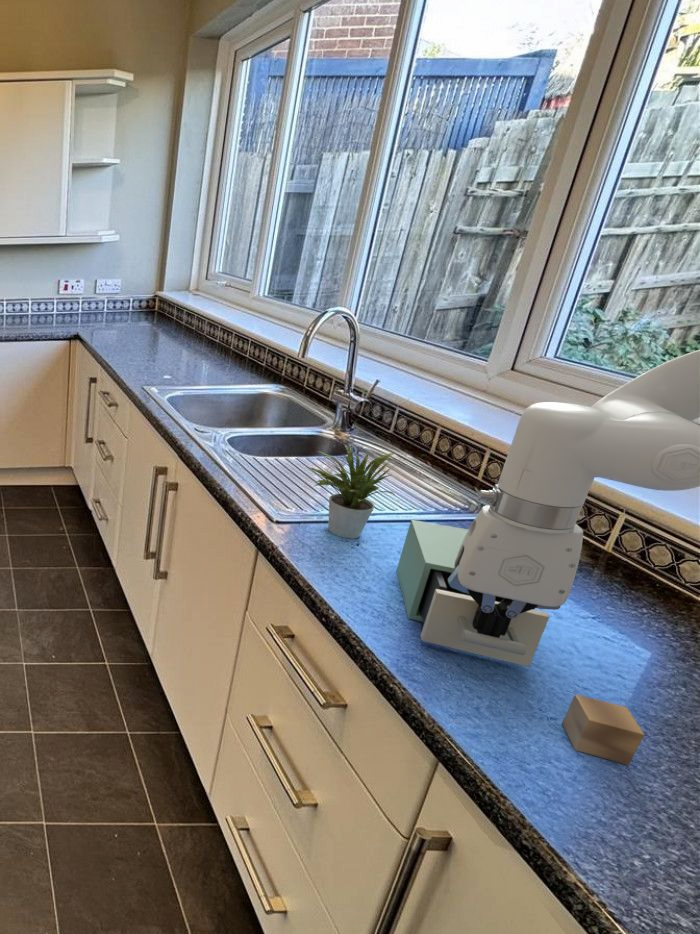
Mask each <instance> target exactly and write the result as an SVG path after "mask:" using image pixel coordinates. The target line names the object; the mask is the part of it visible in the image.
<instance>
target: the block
mask: <svg viewBox="0 0 700 934" xmlns="http://www.w3.org/2000/svg"><path fill="white" fill-rule="evenodd" d="M569 704H570V705H569V707H568V709H567V711H566V713H565V715H564V717H563V720H562V722H561V725H562V726H563V729H564V731H565V733H566V734H567V737H568V739H569V741H570V743H571V745H572V747H573V749H574V750H575V751H577V752H581V753H584V754H586V755H591V756H594V757H598V758H601V759H604V760H608V761H612V762H616V763H619V764H622V765H626V766H630V764H631V762H632V760H633V758H634V756H635V754H636V752H637V751H638V748H639V746H640V744H641V743H642V741H643V739H644V737H645V733H644V732H643V729H642V728H641V727H640V725H639V724H638V722H637V720H636V719H635V717H634V716H633V714H632V713H631V711H630V710H629V708H628V707H627V706H624V705H619V704H615V703H612V702H608V701H604V700H599V699H597V698H592V697H588V696H584V695H580V694H577V693H576V694H574V695H573V698H572V699H571V702H570V703H569Z"/></svg>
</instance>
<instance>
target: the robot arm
mask: <svg viewBox="0 0 700 934" xmlns="http://www.w3.org/2000/svg"><path fill="white" fill-rule="evenodd" d="M699 418H700V349H697V350H694V351H691V352H688V353H685V354H683V355H680V356H677V357H674V358H673V359H670V360H667V361H665V362H663V363H660V364H659V365H656V366H654V367H653V368H651V369H649V370H647V371H645V372H643V373H642V374H640V375H638V376H636V377H634V378H633V379H631V380H629V381H628V382H626V383H625V384H622V385H621V386H619V387H618V388H616V389H614V390H613V391H611V392H609V393H608V394H605V396H603V397H602V398H600V399H599V400H598V401H596V402H595V403H593V405H591V406H586V405H582V404H576V403H569V402H562V401H561V402H559V401H543V402H535V403H532V404H531V405H529V406H528V407H526V408H525V409H524V410H523V412H522V414H521V415H520V418H519V420H518V424H517V426H516V430H515V433H514V435H513V438H512V441H511V444H510V447H509V449H508V453H507V456H506V459H505V462H504V464H503V467H502V469H501V473H500V476H499V479H498V482H497V483H495V484H494V487H492V489H488V490H485V489H484V490H483V489H479V491H478V492H477V501H478V502H479V501H480V502H485V504H487V505H484V506H483V507H481V509H480V510H479V511H478V513H477V515H476V516H475V518H474V520H473V521H472V523H471V525H470V526H469V528H468V532H467V534H466V536H465V538H464V540H463V542H462V544H461V547H460V549H459V551H458V554H457V557H456V560H455V564H454V568H455V570H454V571H453V573H452V574H451V575H450V577H449V578H448V582H449V585H450V587H452V588H454V589H456V590H459V591H461V592H464V593H467V594H470V596H471V597H472V598H473V599H474V600H475V602H476V603H477V604H478V608H477V611H476V614H475V616H474V619H473V628H474V629H477V632H478V633H480V634H484V635H488V636H493V637H497V638H499V637H500V635H503V636H505V634H506V632H507V629H508V627H509V624H510V621H511V619H512V618H516V617H518V615H519V614H520V613H523V612H526V611H529V610H532V609H534V610H536V609H537V610H551V611H552V610H553V611H555V610H556V611H557V610H559V609H560V608H561V606H564V604H566V602H567V601H568V598H569V596H570V593H571V592H572V588H573V585H574V581H575V579H576V574H577V571H578V567H579V563H580V560H581V559H580V558H581V553H582V549H583V540H584V529H582V527H581V526H579V524H577V521H578V519H579V516H580V514H581V511H582V509H583V507H584V504H585V502H586V500H587V497H588V494H589V493H590V490H591V487H592V485H593V482H594V480H595V478H600V479H605V480H610V481H614V482H618V483H622V484H626V485H629V486H633V487H638V488H643V489H649V490H655V491H666V492H667V491H669V492H674V491H676V492H677V491H686V490H691V489H692V490H693V489H696V488H699V487H700V425H699V424H697V423H694V422H693V421H695V420H696V419H699ZM496 596H498V597H503V598H502V599H501V601H500V603H498V604H495V598H496ZM494 605H495V606H494Z"/></svg>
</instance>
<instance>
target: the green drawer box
mask: <svg viewBox="0 0 700 934" xmlns="http://www.w3.org/2000/svg"><path fill="white" fill-rule="evenodd" d="M468 530H469V528H462V527H457V526H452V525H451V526H450V525H445V524H438V523H433V522H427V521H422V520H416V519H410V523H409V525H408V528H407V532H406V536H405V539H404V540H405V541H404V543H403V547H402V550H401V553H400V557H399V560H398V563H397V568H396V573H397V578H398V582H399V586H400V587H399V588H400V590H401V595H402V599H403V604H404V607H405V611H406V615H407V618H408V619H409V620H413V621H416V622H422V623H424V622H423V619H422V615H421V612H420V608H419V605H420V601H421V598H422V595H423V592H424V589H425V586H426V582H427V579H428V576H429V573H430V570H431V569H435V570H440V571H445V572H450V573H453V571H454V570H455V568H454V564H455V560H456V557H457V554H458V551H459V549H460V547H461V544H462V542H463V540H464V538H465V536H466V534H467V532H468Z"/></svg>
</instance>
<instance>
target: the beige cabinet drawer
mask: <svg viewBox="0 0 700 934" xmlns="http://www.w3.org/2000/svg"><path fill="white" fill-rule="evenodd" d="M451 574H452V573H450V572H445V571H440V570H435V569H431V570H430V573H429V576H428V579H427V582H426V586H425V589H424V592H423V595H422V598H421V601H420V605H419V608H420V612H421V615H422V619H423V622H422V623H423V626H422V629H421V633H420V639H421V641H422V642H425V643H429V644H434V645H438V646H442V647H446V648H450V649H454V650H458V651H462V652H466V653H470V654H474V655H477V656H481V657H487V658H490V659H495V660H499V661H503V662H506V663H510V664H515V665H519V666H523V667H527V668H530V666H531V663H532V661H533V658H534V656H535V653H536V652H537V649H538V646H539V644H540V641H541V640H542V636H543V634H544V631H545V629H546V627H547V624H548V622H549V620H550V616H549V614H548V612H547V611H543V610H539V609H532V610H529V611H526V612H523V613H520V614H519V615H518V617H516V618H512V619H511V621H510V624H509V627H508V629H507V632H506V634H505V636H503V635H500V637H499V638H497V637H493V636H488V635H484V634H480V633H478V632H477V629H474V628H473V619H474V616H475V614H476V611H477V608H478V604H477V603H476V602H475V600H474V599H473V598H472V597H471V596H470V594H467V593H464V592H461V591H459V590H456V589H454V588H452V587H450V585H449V582H448V578H449V577H450V575H451ZM502 598H503V597H498V596H496V598H495V604H498V603H500V601H501V599H502ZM494 606H495V605H494Z"/></svg>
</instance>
